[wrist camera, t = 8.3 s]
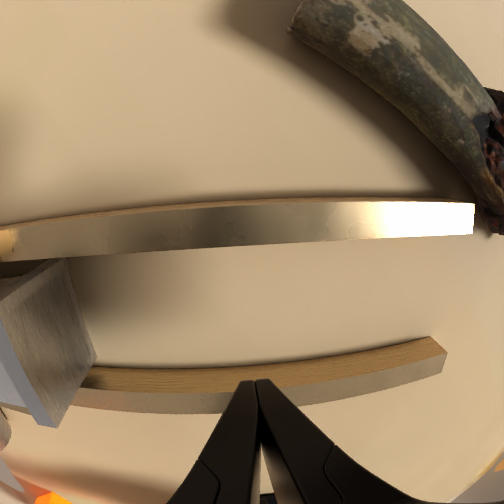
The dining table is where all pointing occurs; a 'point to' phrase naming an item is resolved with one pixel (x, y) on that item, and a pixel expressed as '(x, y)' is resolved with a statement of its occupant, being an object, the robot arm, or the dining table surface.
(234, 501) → the robot arm
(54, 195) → the dining table surface
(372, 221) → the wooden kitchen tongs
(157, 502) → the dining table surface
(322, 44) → the grey brown wooden log
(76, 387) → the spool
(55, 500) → the orange juice
